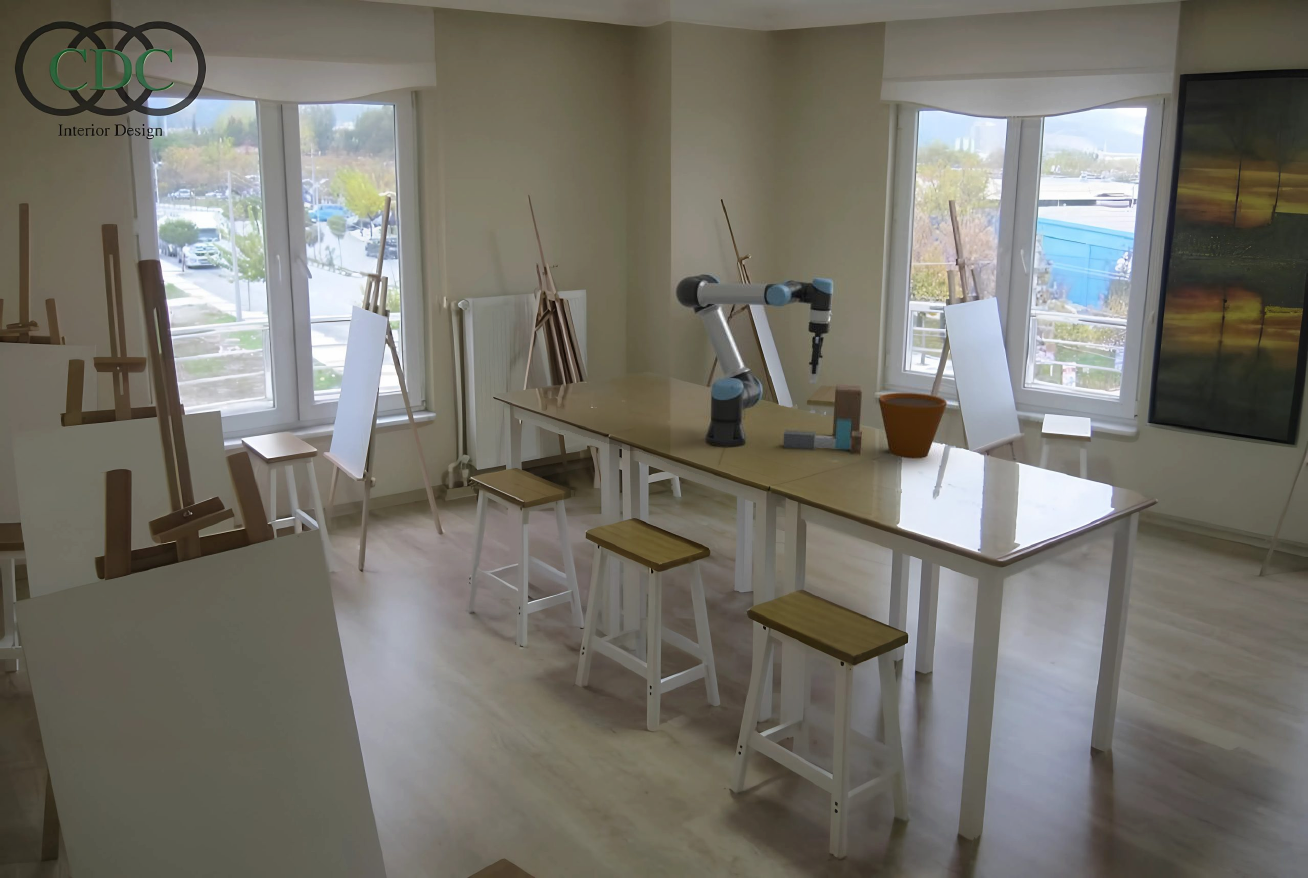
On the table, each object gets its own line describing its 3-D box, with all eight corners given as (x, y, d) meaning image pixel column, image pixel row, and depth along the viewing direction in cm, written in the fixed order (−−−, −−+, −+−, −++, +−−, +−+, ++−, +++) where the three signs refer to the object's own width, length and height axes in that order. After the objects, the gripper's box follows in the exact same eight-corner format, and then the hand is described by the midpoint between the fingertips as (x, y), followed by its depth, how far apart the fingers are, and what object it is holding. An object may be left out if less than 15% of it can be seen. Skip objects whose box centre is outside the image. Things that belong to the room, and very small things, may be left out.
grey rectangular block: (783, 447, 387) (784, 433, 385) (784, 444, 392) (785, 430, 391) (813, 449, 384) (814, 435, 383) (814, 446, 390) (815, 431, 388)
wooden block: (858, 442, 397) (862, 390, 392) (832, 440, 399) (835, 388, 394) (859, 435, 407) (862, 385, 402) (833, 434, 409) (836, 384, 404)
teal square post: (806, 446, 385) (807, 418, 383) (807, 443, 390) (808, 416, 387) (858, 450, 381) (860, 422, 379) (859, 447, 386) (861, 419, 383)
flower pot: (953, 460, 373) (958, 405, 368) (889, 462, 369) (893, 407, 364) (925, 444, 396) (930, 392, 391) (865, 445, 392) (869, 393, 387)
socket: (850, 453, 381) (851, 435, 379) (851, 447, 388) (852, 430, 387) (860, 454, 380) (861, 436, 378) (860, 448, 387) (862, 431, 386)
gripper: (828, 327, 366) (822, 386, 372) (831, 317, 390) (826, 373, 395) (806, 325, 368) (801, 384, 373) (811, 316, 391) (806, 371, 397)
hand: (814, 379), depth 384 cm, fingers open, 13 cm apart
